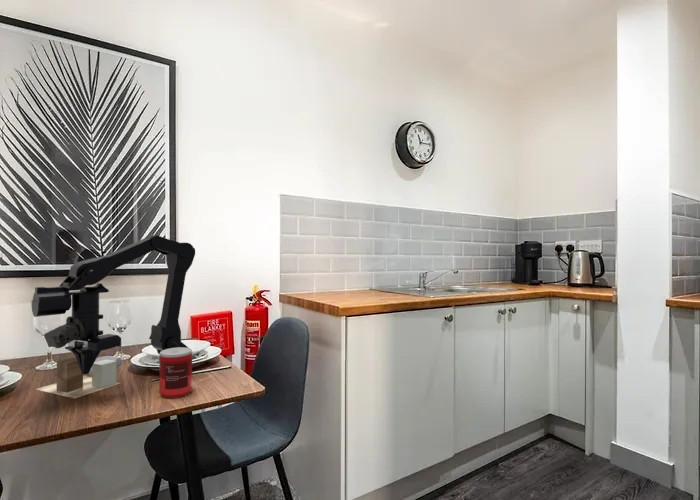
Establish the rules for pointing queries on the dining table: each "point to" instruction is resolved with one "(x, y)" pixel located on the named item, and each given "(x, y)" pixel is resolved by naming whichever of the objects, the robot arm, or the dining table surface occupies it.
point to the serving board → (86, 390)
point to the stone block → (107, 359)
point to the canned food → (175, 372)
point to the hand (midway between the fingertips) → (85, 373)
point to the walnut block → (69, 376)
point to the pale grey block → (104, 373)
